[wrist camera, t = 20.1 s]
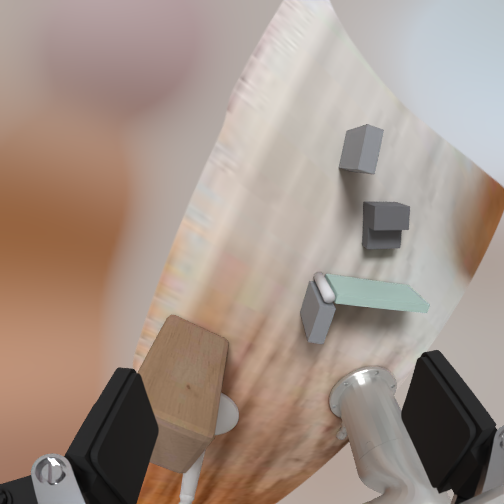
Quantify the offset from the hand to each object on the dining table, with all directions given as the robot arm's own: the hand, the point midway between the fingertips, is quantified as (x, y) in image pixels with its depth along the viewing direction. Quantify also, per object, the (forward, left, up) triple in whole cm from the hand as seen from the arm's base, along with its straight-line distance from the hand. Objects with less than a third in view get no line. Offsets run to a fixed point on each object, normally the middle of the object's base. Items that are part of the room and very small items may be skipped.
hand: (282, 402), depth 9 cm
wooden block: (-22, +7, -32) cm, 40 cm away
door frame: (+1, -9, -32) cm, 34 cm away
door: (-6, -16, -32) cm, 36 cm away
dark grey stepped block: (+3, -16, -32) cm, 36 cm away
